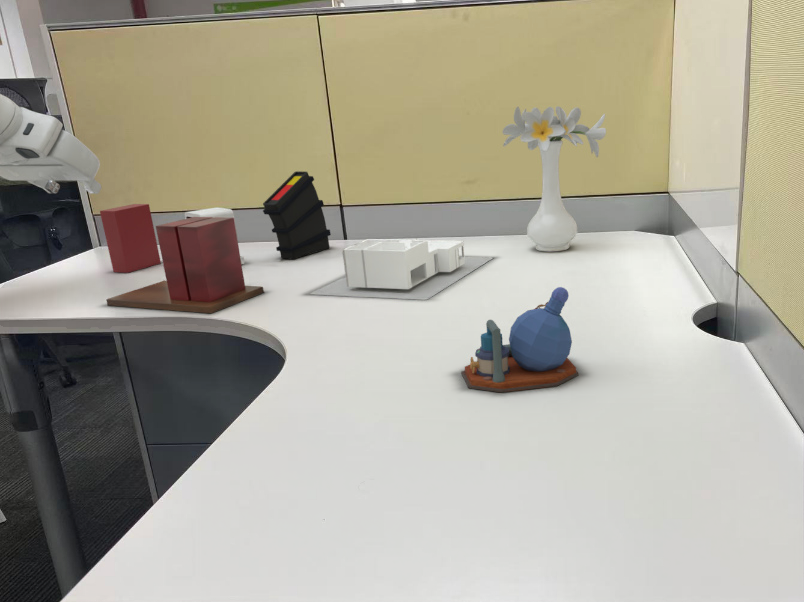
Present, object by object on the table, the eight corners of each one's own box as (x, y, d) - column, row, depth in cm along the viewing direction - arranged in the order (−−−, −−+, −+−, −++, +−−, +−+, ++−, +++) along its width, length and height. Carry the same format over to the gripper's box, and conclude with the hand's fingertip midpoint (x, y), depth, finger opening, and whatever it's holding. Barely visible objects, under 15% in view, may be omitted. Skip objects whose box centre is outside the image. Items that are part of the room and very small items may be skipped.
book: (128, 272, 145) (114, 211, 141) (113, 272, 146) (99, 210, 142) (161, 263, 151) (149, 204, 148) (146, 262, 153) (134, 203, 149)
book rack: (211, 313, 116) (196, 230, 111) (107, 305, 123) (89, 226, 118) (264, 292, 126) (251, 215, 122) (165, 286, 133) (150, 213, 129)
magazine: (341, 236, 160) (310, 170, 149) (304, 278, 152) (269, 211, 142) (326, 235, 161) (294, 170, 151) (289, 277, 154) (253, 211, 143)
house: (431, 297, 117) (428, 256, 115) (321, 291, 123) (316, 253, 121) (485, 263, 137) (483, 227, 135) (388, 260, 143) (385, 226, 140)
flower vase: (616, 248, 146) (616, 102, 137) (520, 259, 140) (514, 108, 131) (586, 236, 157) (584, 101, 148) (496, 246, 152) (489, 106, 143)
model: (561, 355, 92) (559, 275, 88) (586, 382, 83) (585, 295, 80) (457, 367, 89) (451, 285, 86) (472, 396, 81) (466, 307, 78)
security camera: (193, 267, 147) (183, 211, 143) (229, 260, 151) (219, 206, 148) (210, 271, 142) (200, 214, 139) (246, 264, 147) (237, 208, 144)
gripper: (-49, 152, 126) (23, 205, 138) (45, 150, 118) (113, 206, 130) (-30, 120, 128) (39, 175, 140) (63, 116, 121) (128, 174, 133)
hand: (76, 190), depth 135 cm, fingers open, 8 cm apart
